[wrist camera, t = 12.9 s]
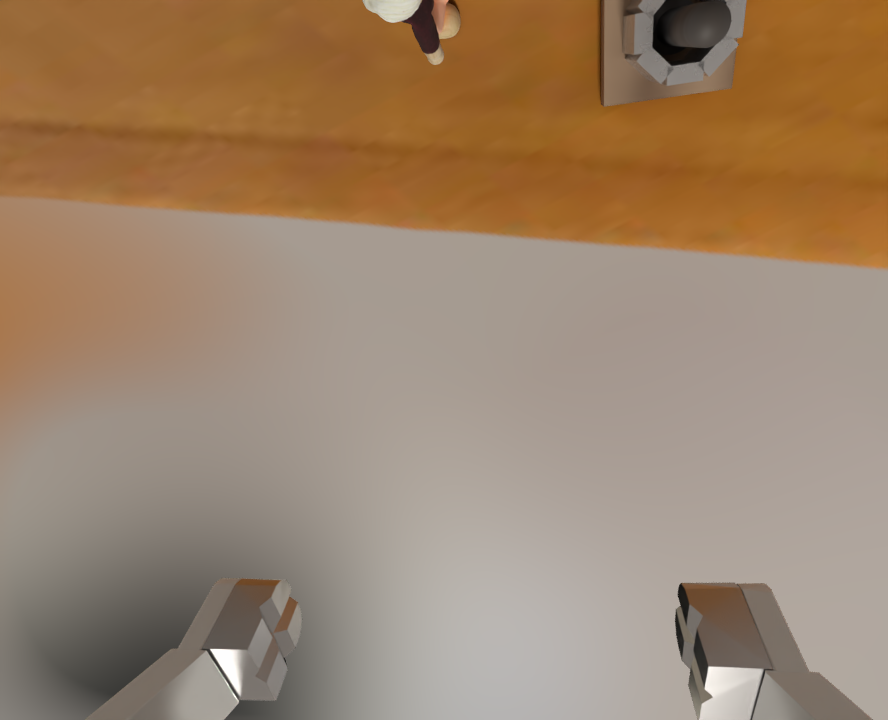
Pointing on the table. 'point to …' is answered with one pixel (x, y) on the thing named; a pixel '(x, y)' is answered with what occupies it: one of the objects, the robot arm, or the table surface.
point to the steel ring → (695, 61)
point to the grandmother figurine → (421, 21)
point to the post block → (663, 49)
